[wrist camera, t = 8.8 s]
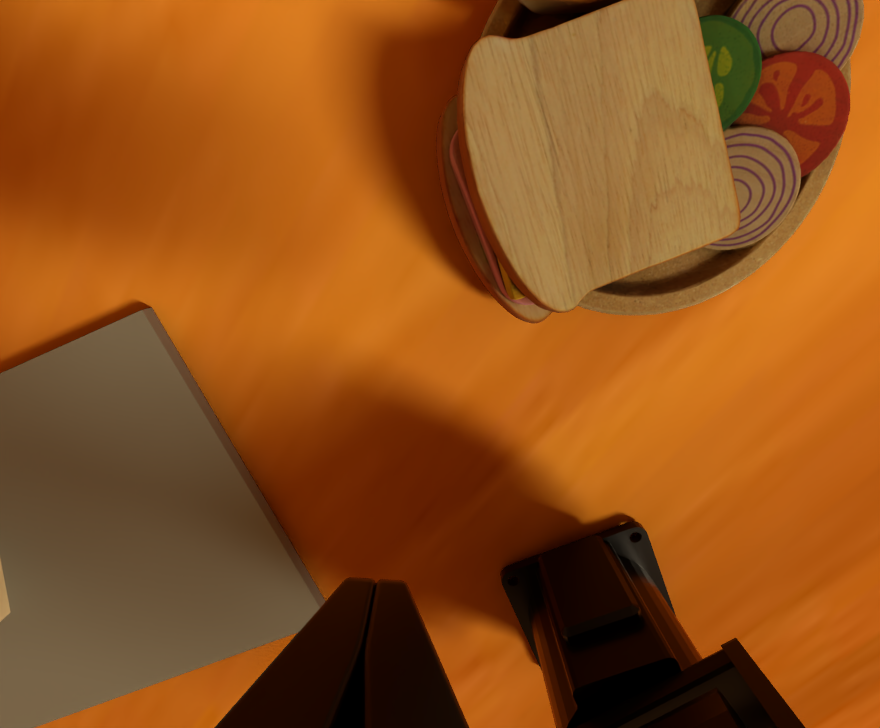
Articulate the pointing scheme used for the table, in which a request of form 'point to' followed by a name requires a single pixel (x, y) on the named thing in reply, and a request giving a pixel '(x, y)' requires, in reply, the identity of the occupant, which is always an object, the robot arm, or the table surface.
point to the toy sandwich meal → (641, 145)
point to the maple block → (3, 596)
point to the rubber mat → (128, 529)
